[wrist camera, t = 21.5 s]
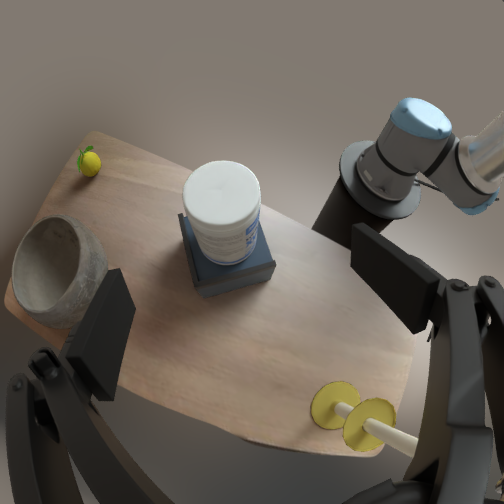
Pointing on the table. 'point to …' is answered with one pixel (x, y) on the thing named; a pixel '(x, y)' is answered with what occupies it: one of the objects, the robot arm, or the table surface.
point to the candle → (360, 419)
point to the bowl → (58, 271)
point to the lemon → (89, 162)
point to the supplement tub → (223, 210)
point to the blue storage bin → (225, 276)
